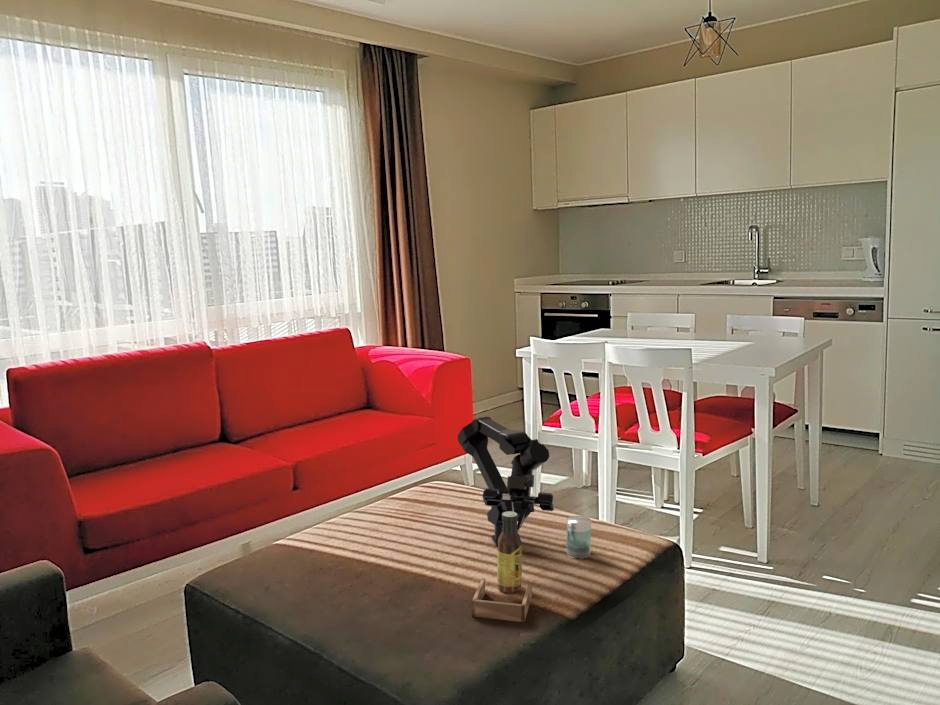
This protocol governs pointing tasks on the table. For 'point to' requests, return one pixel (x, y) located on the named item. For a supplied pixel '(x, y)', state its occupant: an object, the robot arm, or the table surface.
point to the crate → (500, 606)
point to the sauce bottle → (509, 555)
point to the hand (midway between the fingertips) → (514, 529)
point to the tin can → (578, 536)
